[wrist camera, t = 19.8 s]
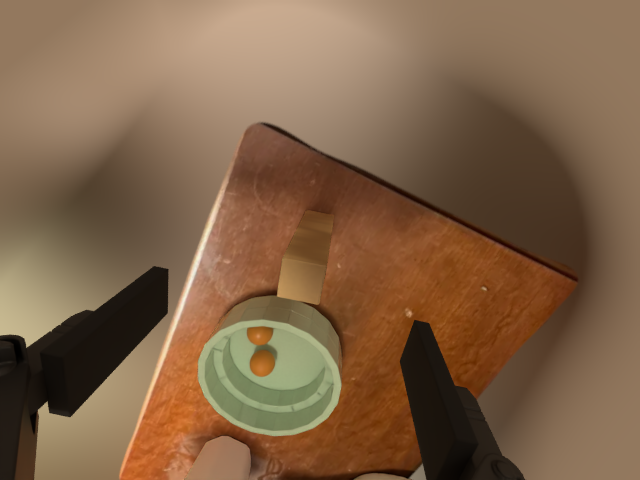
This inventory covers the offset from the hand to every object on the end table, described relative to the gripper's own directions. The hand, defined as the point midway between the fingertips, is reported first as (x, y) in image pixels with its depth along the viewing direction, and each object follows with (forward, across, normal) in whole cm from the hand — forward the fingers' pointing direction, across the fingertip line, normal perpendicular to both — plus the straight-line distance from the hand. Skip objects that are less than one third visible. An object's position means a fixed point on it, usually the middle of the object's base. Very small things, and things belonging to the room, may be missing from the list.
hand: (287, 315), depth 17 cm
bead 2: (+15, -3, -18) cm, 24 cm away
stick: (+18, 0, -1) cm, 18 cm away
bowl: (+18, -2, -17) cm, 25 cm away
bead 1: (+16, -4, -14) cm, 21 cm away
